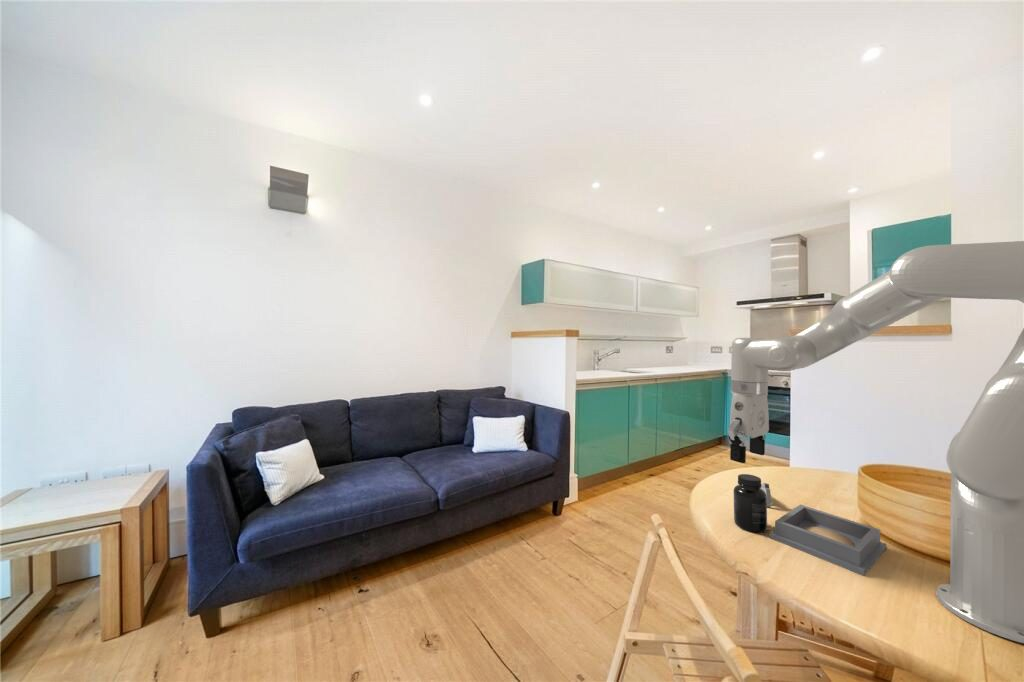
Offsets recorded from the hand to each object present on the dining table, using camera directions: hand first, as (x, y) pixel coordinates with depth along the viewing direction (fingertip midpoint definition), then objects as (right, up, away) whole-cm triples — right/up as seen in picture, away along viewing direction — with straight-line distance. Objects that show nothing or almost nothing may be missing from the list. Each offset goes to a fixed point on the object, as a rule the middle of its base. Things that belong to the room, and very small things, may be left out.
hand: (747, 457), depth 89 cm
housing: (+13, -17, -8) cm, 22 cm away
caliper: (+14, -17, +19) cm, 29 cm away
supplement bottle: (0, -17, 0) cm, 17 cm away
